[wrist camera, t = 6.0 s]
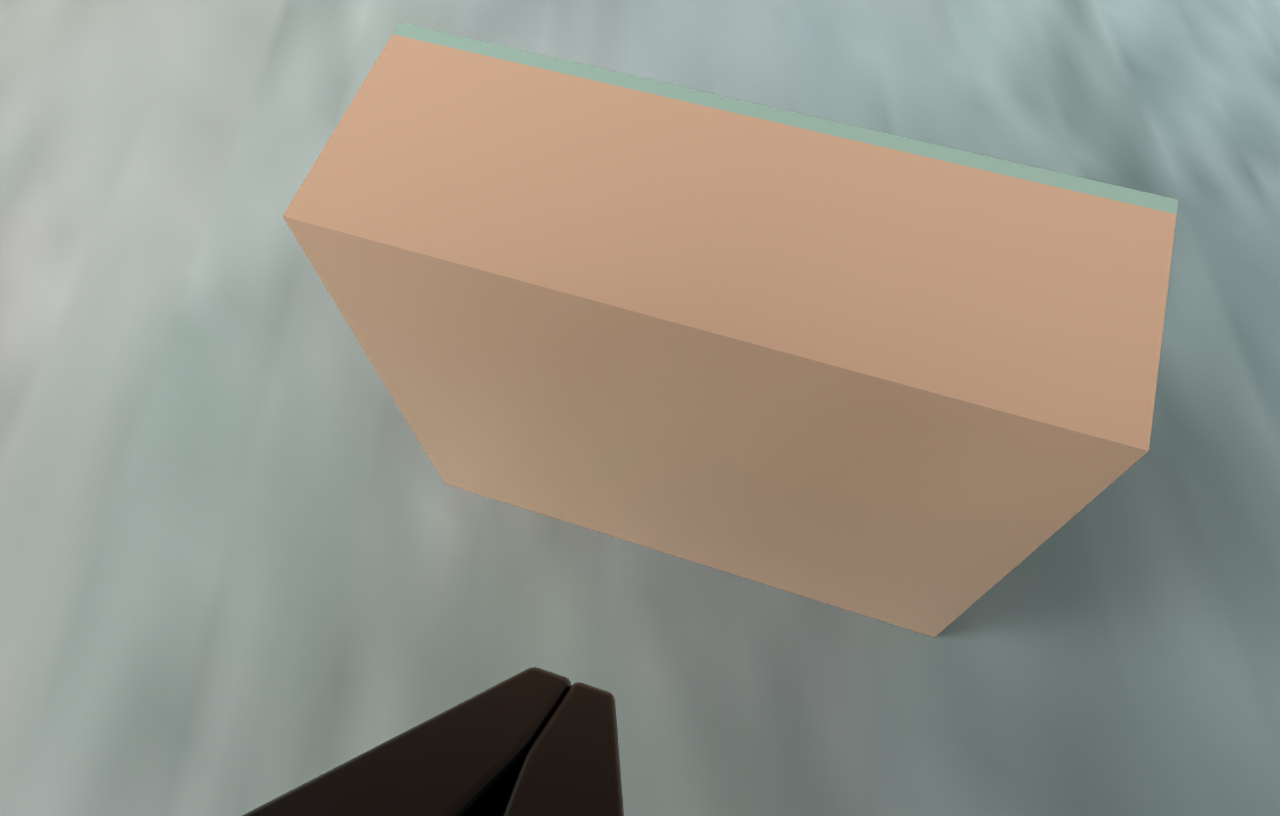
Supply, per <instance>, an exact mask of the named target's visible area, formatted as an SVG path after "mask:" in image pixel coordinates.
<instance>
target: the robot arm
mask: <svg viewBox="0 0 1280 816" xmlns="http://www.w3.org/2000/svg"><path fill="white" fill-rule="evenodd" d="M242 816H624V811H623V798H622V785H621V773H620V760H619V747H618V734H617V721H616V708H615V699H614V696H613V695H612V694H611V693H609V692H607V691H604V690H601V689H598V688H595V687H592V686H589V685H586V684H584V683H579V682H578V683H574V684H573V685H572V686H571V682H570V680H569V679H568V678H566V677H563V676H560V675H557V674H555V673H552V672H549V671H546V670H543V669H540V668H536V667H534V668H529V669H527V670H525V671H523V672H521V673H519V674H517V675H515V676H513V677H511V678H509V679H507V680H505V681H503V682H501V683H499V684H497V685H496V686H494V687H492V688H490V689H488V690H486V691H484V692H482V693H480V694H478V695H476V696H474V697H472V698H470V699H468V700H466V701H464V702H462V703H460V704H459V705H457V706H455V707H453V708H451V709H449V710H447V711H445V712H443V713H441V714H439V715H437V716H435V717H433V718H431V719H429V720H427V721H425V722H423V723H422V724H420V725H418V726H416V727H414V728H412V729H410V730H408V731H406V732H404V733H402V734H400V735H398V736H396V737H394V738H392V739H390V740H388V741H387V742H385V743H383V744H381V745H379V746H377V747H375V748H373V749H371V750H369V751H367V752H365V753H363V754H361V755H359V756H357V757H355V758H353V759H351V760H350V761H348V762H346V763H344V764H342V765H340V766H338V767H336V768H334V769H332V770H330V771H328V772H326V773H324V774H322V775H320V776H318V777H316V778H314V779H313V780H311V781H309V782H307V783H305V784H303V785H301V786H299V787H297V788H295V789H293V790H291V791H289V792H287V793H285V794H283V795H281V796H279V797H278V798H276V799H274V800H272V801H270V802H268V803H266V804H264V805H262V806H260V807H258V808H256V809H254V810H252V811H250V812H248V813H246V814H244V815H242Z"/></svg>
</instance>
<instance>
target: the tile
mask: <svg viewBox="0 0 1280 816" xmlns="http://www.w3.org/2000/svg"><path fill="white" fill-rule="evenodd" d="M1177 207H1178V199H1173V198H1169V197H1164V196H1160V195H1156V194H1151V193H1147V192H1142V191H1138V190H1134V189H1129V188H1125V187H1121V186H1116V185H1112V184H1107V183H1103V182H1099V181H1094V180H1090V179H1085V178H1081V177H1077V176H1072V175H1068V174H1063V173H1059V172H1055V171H1050V170H1046V169H1041V168H1037V167H1033V166H1028V165H1024V164H1019V163H1015V162H1011V161H1006V160H1002V159H997V158H993V157H989V156H984V155H980V154H975V153H971V152H967V151H962V150H958V149H953V148H949V147H945V146H940V145H936V144H932V143H927V142H923V141H918V140H914V139H910V138H905V137H901V136H896V135H892V134H888V133H883V132H879V131H874V130H870V129H866V128H861V127H857V126H852V125H848V124H844V123H839V122H835V121H830V120H826V119H822V118H817V117H813V116H808V115H804V114H800V113H795V112H791V111H786V110H782V109H778V108H773V107H769V106H764V105H760V104H756V103H751V102H747V101H743V100H738V99H734V98H729V97H725V96H721V95H716V94H712V93H707V92H703V91H699V90H694V89H690V88H685V87H681V86H677V85H672V84H668V83H663V82H659V81H655V80H650V79H646V78H641V77H637V76H633V75H628V74H624V73H619V72H615V71H611V70H606V69H602V68H597V67H593V66H589V65H584V64H580V63H575V62H571V61H567V60H562V59H558V58H554V57H549V56H545V55H540V54H536V53H532V52H527V51H523V50H518V49H514V48H510V47H505V46H501V45H496V44H492V43H488V42H483V41H479V40H474V39H470V38H466V37H461V36H457V35H452V34H448V33H444V32H439V31H435V30H430V29H426V28H422V27H417V26H413V25H408V24H404V23H399V25H398V26H397V28H396V30H395V31H394V33H393V35H392V36H391V38H390V39H389V41H388V43H387V44H386V46H385V48H384V49H383V51H382V53H381V54H380V56H379V58H378V59H377V61H376V63H375V64H374V66H373V68H372V69H371V71H370V73H369V74H368V76H367V78H366V79H365V81H364V83H363V84H362V86H361V88H360V89H359V91H358V92H357V94H356V96H355V97H354V99H353V101H352V102H351V104H350V106H349V107H348V109H347V111H346V112H345V114H344V116H343V117H342V119H341V121H340V122H339V124H338V126H337V127H336V129H335V131H334V132H333V134H332V136H331V137H330V139H329V140H328V142H327V144H326V145H325V147H324V149H323V150H322V152H321V154H320V155H319V157H318V159H317V160H316V162H315V164H314V165H313V167H312V169H311V170H310V172H309V174H308V175H307V177H306V179H305V180H304V182H303V184H302V185H301V187H300V189H299V190H298V192H297V193H296V195H295V197H294V198H293V200H292V202H291V203H290V205H289V207H288V208H287V210H286V212H285V213H284V215H283V217H284V219H285V221H286V222H287V224H288V226H289V227H290V229H291V231H292V232H293V234H294V236H295V237H296V239H297V241H298V242H299V244H300V246H301V247H302V249H303V251H304V252H305V254H306V255H307V257H308V259H309V260H310V262H311V264H312V265H313V267H314V269H315V270H316V272H317V274H318V275H319V277H320V279H321V280H322V282H323V284H324V285H325V287H326V289H327V290H328V292H329V293H330V295H331V297H332V298H333V300H334V302H335V303H336V305H337V307H338V308H339V310H340V312H341V313H342V315H343V317H344V318H345V320H346V322H347V323H348V325H349V327H350V328H351V330H352V331H353V333H354V335H355V336H356V338H357V340H358V341H359V343H360V345H361V346H362V348H363V350H364V351H365V353H366V355H367V356H368V358H369V360H370V361H371V363H372V365H373V366H374V368H375V369H376V371H377V373H378V374H379V376H380V378H381V379H382V381H383V383H384V384H385V386H386V388H387V389H388V391H389V393H390V394H391V396H392V398H393V399H394V401H395V402H396V404H397V406H398V407H399V409H400V411H401V412H402V414H403V416H404V417H405V419H406V421H407V422H408V424H409V426H410V427H411V429H412V431H413V432H414V434H415V436H416V437H417V439H418V440H419V442H420V444H421V445H422V447H423V449H424V450H425V452H426V454H427V455H428V457H429V459H430V460H431V462H432V464H433V465H434V467H435V469H436V470H437V472H438V474H439V475H440V477H441V478H442V480H443V482H444V483H445V484H447V485H451V486H454V487H457V488H460V489H463V490H467V491H470V492H473V493H476V494H479V495H482V496H486V497H489V498H492V499H495V500H498V501H502V502H505V503H508V504H511V505H514V506H517V507H521V508H524V509H527V510H530V511H533V512H537V513H540V514H543V515H546V516H549V517H553V518H556V519H559V520H562V521H565V522H568V523H572V524H575V525H578V526H581V527H584V528H588V529H591V530H594V531H597V532H600V533H603V534H607V535H610V536H613V537H616V538H619V539H623V540H626V541H629V542H632V543H635V544H639V545H642V546H645V547H648V548H651V549H654V550H658V551H661V552H664V553H667V554H670V555H674V556H677V557H680V558H683V559H686V560H689V561H693V562H696V563H699V564H702V565H705V566H709V567H712V568H715V569H718V570H721V571H724V572H728V573H731V574H734V575H737V576H740V577H744V578H747V579H750V580H753V581H756V582H760V583H763V584H766V585H769V586H772V587H775V588H779V589H782V590H785V591H788V592H791V593H795V594H798V595H801V596H804V597H807V598H810V599H814V600H817V601H820V602H823V603H826V604H830V605H833V606H836V607H839V608H842V609H846V610H849V611H852V612H855V613H858V614H861V615H865V616H868V617H871V618H874V619H877V620H881V621H884V622H887V623H890V624H893V625H896V626H900V627H903V628H906V629H909V630H912V631H916V632H919V633H922V634H925V635H928V636H932V637H936V636H937V635H938V634H939V633H940V632H942V631H943V630H944V629H945V628H946V627H947V626H948V625H950V624H951V623H952V622H953V621H954V620H955V619H956V618H958V617H959V616H960V615H961V614H962V613H963V612H965V611H966V610H967V609H968V608H969V607H970V606H971V605H973V604H974V603H975V602H976V601H977V600H978V599H979V598H981V597H982V596H983V595H984V594H985V593H986V592H988V591H989V590H990V589H991V588H992V587H993V586H994V585H996V584H997V583H998V582H999V581H1000V580H1001V579H1002V578H1004V577H1005V576H1006V575H1007V574H1008V573H1009V572H1010V571H1012V570H1013V569H1014V568H1015V567H1016V566H1017V565H1019V564H1020V563H1021V562H1022V561H1023V560H1024V559H1025V558H1027V557H1028V556H1029V555H1030V554H1031V553H1032V552H1033V551H1035V550H1036V549H1037V548H1038V547H1039V546H1040V545H1042V544H1043V543H1044V542H1045V541H1046V540H1047V539H1048V538H1050V537H1051V536H1052V535H1053V534H1054V533H1055V532H1056V531H1058V530H1059V529H1060V528H1061V527H1062V526H1063V525H1065V524H1066V523H1067V522H1068V521H1069V520H1070V519H1071V518H1073V517H1074V516H1075V515H1076V514H1077V513H1078V512H1079V511H1081V510H1082V509H1083V508H1084V507H1085V506H1086V505H1088V504H1089V503H1090V502H1091V501H1092V500H1093V499H1094V498H1096V497H1097V496H1098V495H1099V494H1100V493H1101V492H1102V491H1104V490H1105V489H1106V488H1107V487H1108V486H1109V485H1111V484H1112V483H1113V482H1114V481H1115V480H1116V479H1117V478H1119V477H1120V476H1121V475H1122V474H1123V473H1124V472H1125V471H1127V470H1128V469H1129V468H1130V467H1131V466H1132V465H1134V464H1135V463H1136V462H1137V461H1138V460H1139V459H1140V458H1142V457H1143V456H1144V455H1145V454H1146V453H1147V452H1148V451H1149V446H1150V437H1151V429H1152V420H1153V412H1154V403H1155V395H1156V386H1157V378H1158V369H1159V361H1160V352H1161V344H1162V335H1163V327H1164V318H1165V310H1166V301H1167V292H1168V284H1169V275H1170V267H1171V258H1172V250H1173V241H1174V233H1175V224H1176V216H1177Z"/></svg>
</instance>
